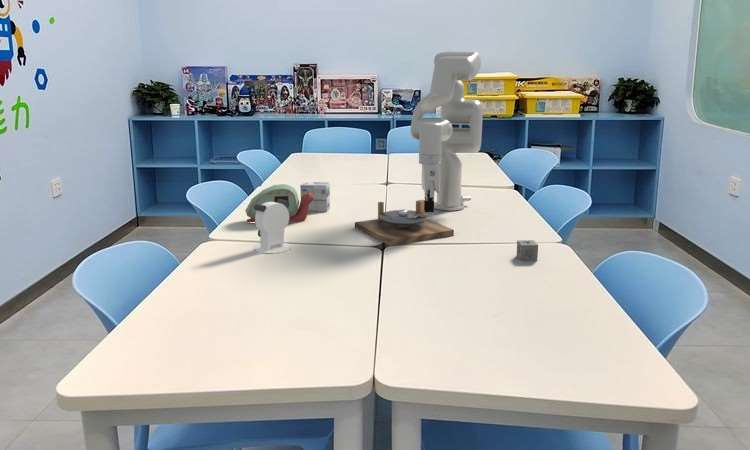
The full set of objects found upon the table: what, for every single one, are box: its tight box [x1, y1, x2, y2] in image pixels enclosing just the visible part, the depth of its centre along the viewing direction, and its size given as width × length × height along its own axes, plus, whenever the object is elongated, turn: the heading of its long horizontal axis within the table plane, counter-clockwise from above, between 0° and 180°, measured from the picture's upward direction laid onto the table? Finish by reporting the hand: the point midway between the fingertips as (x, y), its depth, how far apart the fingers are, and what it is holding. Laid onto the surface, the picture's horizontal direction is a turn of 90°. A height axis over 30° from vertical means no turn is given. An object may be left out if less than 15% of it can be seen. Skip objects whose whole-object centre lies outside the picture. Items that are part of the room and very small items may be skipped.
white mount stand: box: [254, 199, 292, 254], centre depth 204 cm, size 12×11×15 cm
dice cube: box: [516, 239, 539, 262], centre depth 195 cm, size 5×5×5 cm
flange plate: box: [380, 199, 428, 225], centre depth 223 cm, size 18×16×5 cm
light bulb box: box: [299, 181, 331, 213], centre depth 254 cm, size 11×7×11 cm, turn 84°
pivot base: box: [354, 201, 455, 247], centre depth 223 cm, size 25×25×9 cm
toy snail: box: [244, 183, 314, 223], centre depth 237 cm, size 25×8×14 cm, turn 97°
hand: (429, 211), depth 223 cm, fingers closed
